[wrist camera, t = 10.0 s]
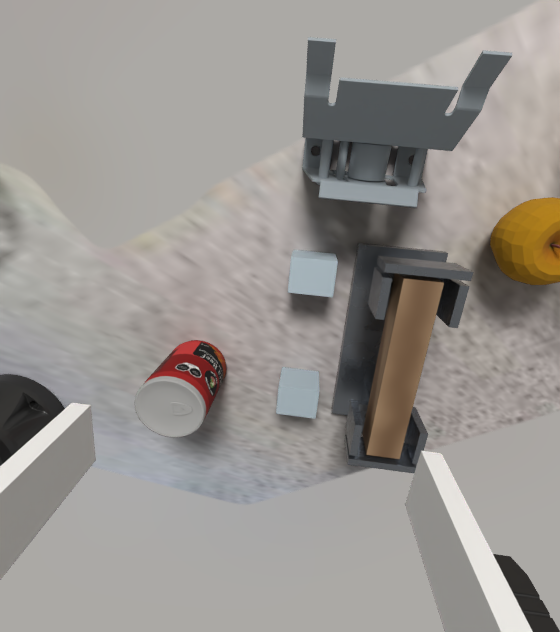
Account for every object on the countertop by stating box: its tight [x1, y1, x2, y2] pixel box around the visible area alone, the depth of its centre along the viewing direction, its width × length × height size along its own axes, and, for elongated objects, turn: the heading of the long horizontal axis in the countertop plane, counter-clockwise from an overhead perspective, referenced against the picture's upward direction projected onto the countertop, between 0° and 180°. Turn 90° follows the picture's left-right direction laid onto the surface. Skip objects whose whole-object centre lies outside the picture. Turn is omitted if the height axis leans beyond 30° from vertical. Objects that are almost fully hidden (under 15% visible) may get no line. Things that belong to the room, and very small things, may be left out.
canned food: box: [135, 340, 226, 437], centre depth 43 cm, size 8×8×11 cm
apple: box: [490, 198, 560, 285], centre depth 35 cm, size 8×8×9 cm
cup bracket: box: [332, 243, 473, 473], centre depth 40 cm, size 10×23×11 cm, turn 175°
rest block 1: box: [288, 250, 338, 297], centre depth 40 cm, size 5×4×5 cm
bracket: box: [303, 37, 512, 208], centre depth 31 cm, size 13×10×15 cm
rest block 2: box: [276, 367, 319, 418], centre depth 46 cm, size 5×4×5 cm
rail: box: [362, 273, 444, 459], centre depth 37 cm, size 4×20×4 cm, turn 175°
